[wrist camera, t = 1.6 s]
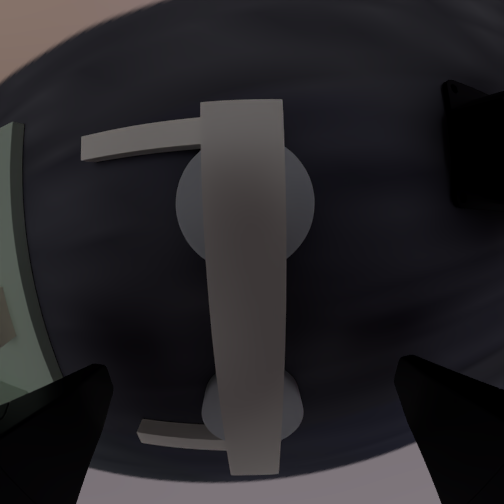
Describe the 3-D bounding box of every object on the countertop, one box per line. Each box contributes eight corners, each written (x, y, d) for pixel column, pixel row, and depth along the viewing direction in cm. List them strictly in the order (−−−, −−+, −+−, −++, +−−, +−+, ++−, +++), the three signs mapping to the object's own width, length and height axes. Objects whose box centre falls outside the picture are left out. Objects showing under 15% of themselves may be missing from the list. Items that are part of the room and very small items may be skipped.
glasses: (303, 122, 10) (322, 101, 7) (295, 433, 14) (302, 471, 11) (95, 140, 10) (56, 130, 7) (146, 429, 14) (133, 464, 11)
